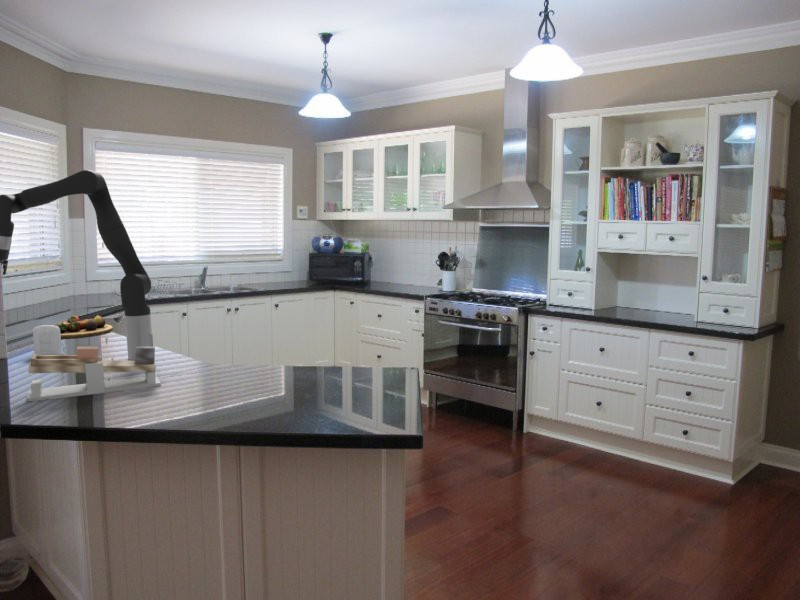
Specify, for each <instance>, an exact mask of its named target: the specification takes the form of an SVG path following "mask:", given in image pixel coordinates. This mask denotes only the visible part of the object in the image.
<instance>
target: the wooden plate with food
mask: <svg viewBox="0 0 800 600" xmlns="http://www.w3.org/2000/svg"><path fill="white" fill-rule="evenodd" d="M54 326H58V327H59V328H60V334H61V339H76V338H77V339H78V337H80V338H88V337H87V336H89V337H95V336H94V335H96V336H100V335H105V334H108V333H111V332H112V331H113V330H114V327H113V325H110V324H106V320H105V319H104V318H103V317H102V316H101V315H96V316H95V317H94V318H93V319H92V318H89V319H80V318H79V316H77V315H72V316H70V318H67V321H61V322H59V323H56V324H55V325H54Z"/></svg>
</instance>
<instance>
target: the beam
mask: <svg viewBox="0 0 800 600" xmlns="http://www.w3.org/2000/svg"><path fill="white" fill-rule="evenodd" d="M155 352H156V347H154V346H153V347H150V346H139V347H135V360H129V359H128V360H102V361H98V363H100V362H103V371H104V373H129V372H130V373H131V372H132V373H134V372H135V373H136V372H137V373H139V372H140V373H141V372H142V373H143V372H144V373H145V372H152V371H155V372H156V369H157V365H156V363H155V354H156V353H155ZM76 356H77V354H61V355H37V354H34V353H32V354H31V357H30V362H29V364H28V374H57V373H58V374H65V373H66V374H71V373H72V374H74V373H75V374H76V373H84V374H86V370H85V364H90V363H95V359H76Z"/></svg>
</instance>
